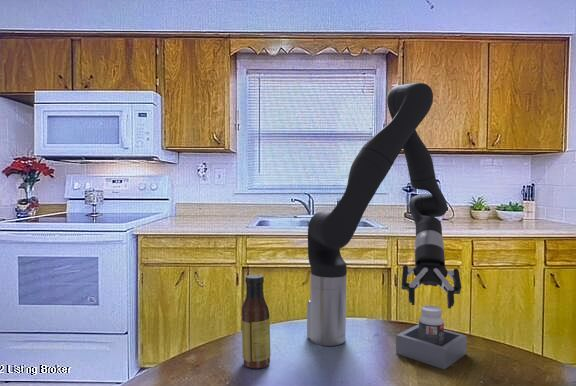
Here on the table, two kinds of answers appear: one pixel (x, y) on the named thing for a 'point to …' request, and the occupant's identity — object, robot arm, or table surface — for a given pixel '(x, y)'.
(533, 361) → the table surface
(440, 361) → the bin
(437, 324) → the pill bottle
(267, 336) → the sauce bottle
